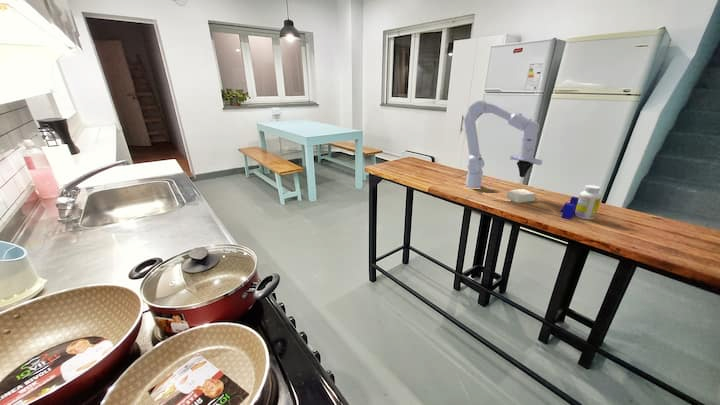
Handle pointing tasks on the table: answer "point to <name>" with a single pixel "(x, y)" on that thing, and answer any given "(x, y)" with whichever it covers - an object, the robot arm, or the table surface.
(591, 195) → the supplement bottle
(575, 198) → the blue l-shaped block
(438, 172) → the table surface
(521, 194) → the card box
